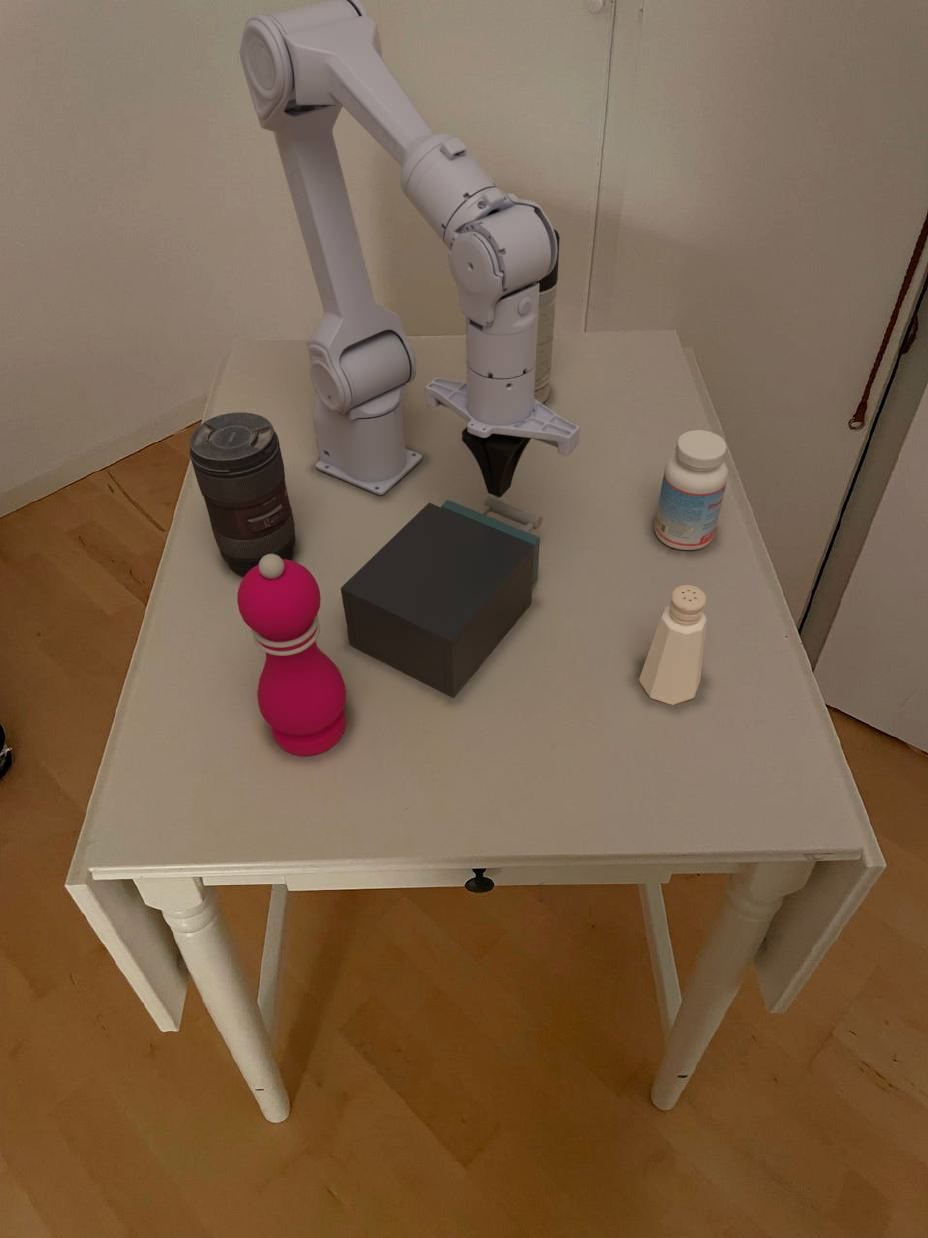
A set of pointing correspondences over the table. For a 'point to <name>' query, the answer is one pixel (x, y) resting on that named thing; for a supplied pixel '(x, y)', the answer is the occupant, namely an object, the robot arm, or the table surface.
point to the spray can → (545, 330)
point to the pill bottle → (692, 491)
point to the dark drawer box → (439, 597)
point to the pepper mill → (292, 657)
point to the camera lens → (243, 488)
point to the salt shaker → (677, 648)
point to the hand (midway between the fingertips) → (499, 489)
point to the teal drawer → (509, 512)
